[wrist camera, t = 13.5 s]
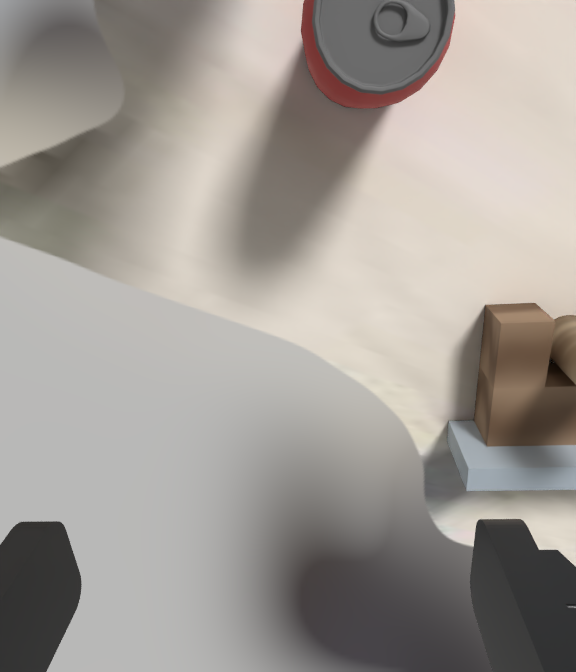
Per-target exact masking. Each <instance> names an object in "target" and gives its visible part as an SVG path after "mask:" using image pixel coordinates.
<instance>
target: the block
mask: <svg viewBox="0 0 576 672" xmlns="http://www.w3.org/2000/svg"><path fill="white" fill-rule="evenodd" d="M555 322H556V321H555V320H553V319H552V318H551V317H550V316H549V315H548V314H547V313H546V312H544V311H543V310H542V309H541V308H540V307H539V306H538V305H537V304H536V303H523V304H498V305H485V315H484V325H483V335H482V345H481V355H480V364H479V374H478V384H477V394H476V404H475V414H474V422H475V424H476V426H477V428H478V430H479V432H480V434H481V436H482V438H483V440H484V442H485V444H486V446H487V447H493V446H547V445H576V384H575V383H574V382H573V381H572V380H571V379H570V378H569V377H568V376H567V375H566V374H565V373H564V372H563V371H562V369H561V368H560V367H559V366H558V365H557V364H556V363H551V364H549V359H550V353H551V347H552V341H553V335H554V329H555Z"/></svg>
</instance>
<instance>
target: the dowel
mask: <svg viewBox="0 0 576 672" xmlns="http://www.w3.org/2000/svg"><path fill="white" fill-rule="evenodd" d="M555 321H556V322H555V329H554V335H553V341H552V347H551V353H550V358H551V359H552V360H553V361H554V362H555V363H556V364H557V365H558V366H559V367H560V368H561V369H562V371H563V372H564V373H565V374H566V375H567V376H568V377H569V378H570V379H571V380H572V381H573V382H574V383H575V384H576V316H574V315H566V316H562V317H559V318H557V319H555Z"/></svg>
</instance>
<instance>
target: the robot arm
mask: <svg viewBox="0 0 576 672" xmlns="http://www.w3.org/2000/svg"><path fill="white" fill-rule="evenodd" d="M470 588H471V597H472V604H473V608H474V613H475V616H476V619H477V623H478V626H479V629H480V632H481V635H482V639H483V642H484V645H485V649H486V652H487V655H488V658H489V661H490V664H491V668H492V671H493V672H576V567H575V566H574V565H573V564H572V563H571V562H570V561H569V560H568V559H567V558H566V557H564V556H563V555H562V554H561V553H560V552H559V551H558V550H539V549H538V547H537V545H536V543H535V541H534V539H533V537H532V535H531V533H530V531H529V529H528V527H527V525H526V524H525V522H524V521H523V520H521V519H481V520H478V522H477V525H476V532H475V540H474V549H473V558H472V567H471V575H470ZM80 594H81V576H80V572H79V569H78V566H77V563H76V560H75V557H74V554H73V551H72V548H71V545H70V541H69V538H68V535H67V532H66V529H65V527H64V525H63V524H62V523H61V522H20V523H18V524H17V525H15V526H14V527H13V529H12V530H11V531H10V532H9V534H8V535H7V537H6V538H5V539H4V541H3V542H2V543H1V545H0V672H46V671H47V669H48V667H49V665H50V663H51V661H52V659H53V657H54V654H55V652H56V650H57V648H58V646H59V644H60V642H61V640H62V638H63V636H64V634H65V632H66V630H67V628H68V626H69V624H70V622H71V619H72V617H73V615H74V613H75V611H76V609H77V606H78V603H79V599H80Z"/></svg>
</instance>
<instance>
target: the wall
mask: <svg viewBox="0 0 576 672" xmlns="http://www.w3.org/2000/svg"><path fill="white" fill-rule="evenodd" d="M447 442H448V445H449V447H450V450H451V453H452V455H453V458H454V460H455V463H456V465H457V468H458V471H459V473H460V476H461V478H462V481H463V484H464V486H465V489H466V491H507V490H576V445H547V446H493V447H487V446H486V444H485V442H484V440H483V438H482V436H481V434H480V432H479V430H478V428H477V426H476V424H475V422H474V420H468V421H449V423H448V436H447Z"/></svg>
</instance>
